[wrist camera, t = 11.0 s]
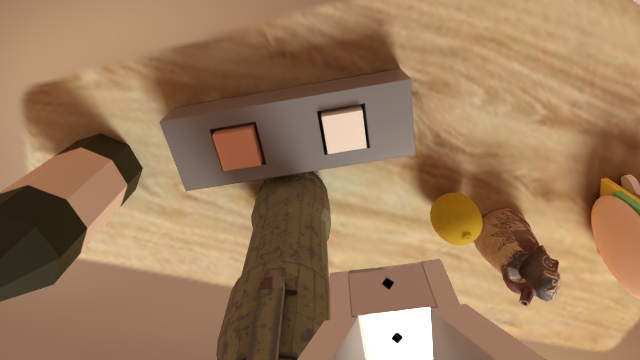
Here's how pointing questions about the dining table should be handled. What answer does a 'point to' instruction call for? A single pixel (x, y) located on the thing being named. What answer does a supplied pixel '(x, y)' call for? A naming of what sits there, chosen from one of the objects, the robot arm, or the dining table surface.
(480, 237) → the figurine
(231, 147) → the clay key
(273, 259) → the thermos
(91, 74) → the dining table surface
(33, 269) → the wine bottle
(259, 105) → the key panel
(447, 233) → the lemon
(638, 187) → the hamburger
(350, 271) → the robot arm
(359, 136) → the pale key
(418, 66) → the dining table surface
